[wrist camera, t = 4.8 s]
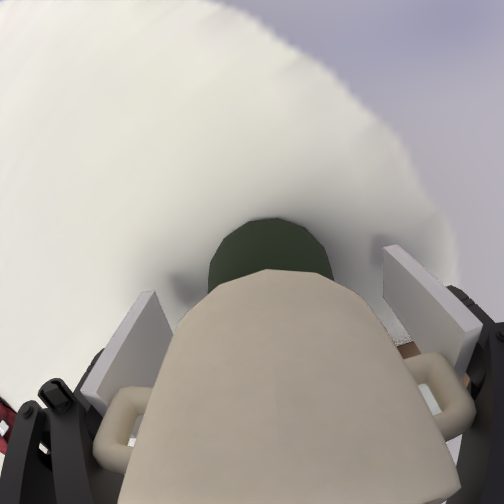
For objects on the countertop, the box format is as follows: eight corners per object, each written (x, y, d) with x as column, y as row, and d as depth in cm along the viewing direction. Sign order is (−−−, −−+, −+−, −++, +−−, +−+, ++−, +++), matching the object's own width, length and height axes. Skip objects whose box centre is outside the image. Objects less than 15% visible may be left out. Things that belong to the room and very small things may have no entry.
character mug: (188, 332, 17) (133, 536, 5) (157, 223, 14) (-25, 433, 2) (362, 311, 16) (450, 505, 4) (365, 196, 13) (585, 369, 1)
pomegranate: (-19, 377, 26) (-42, 397, 17) (34, 401, 29) (16, 428, 21) (-3, 436, 25) (-18, 459, 16) (48, 458, 29) (37, 486, 20)
